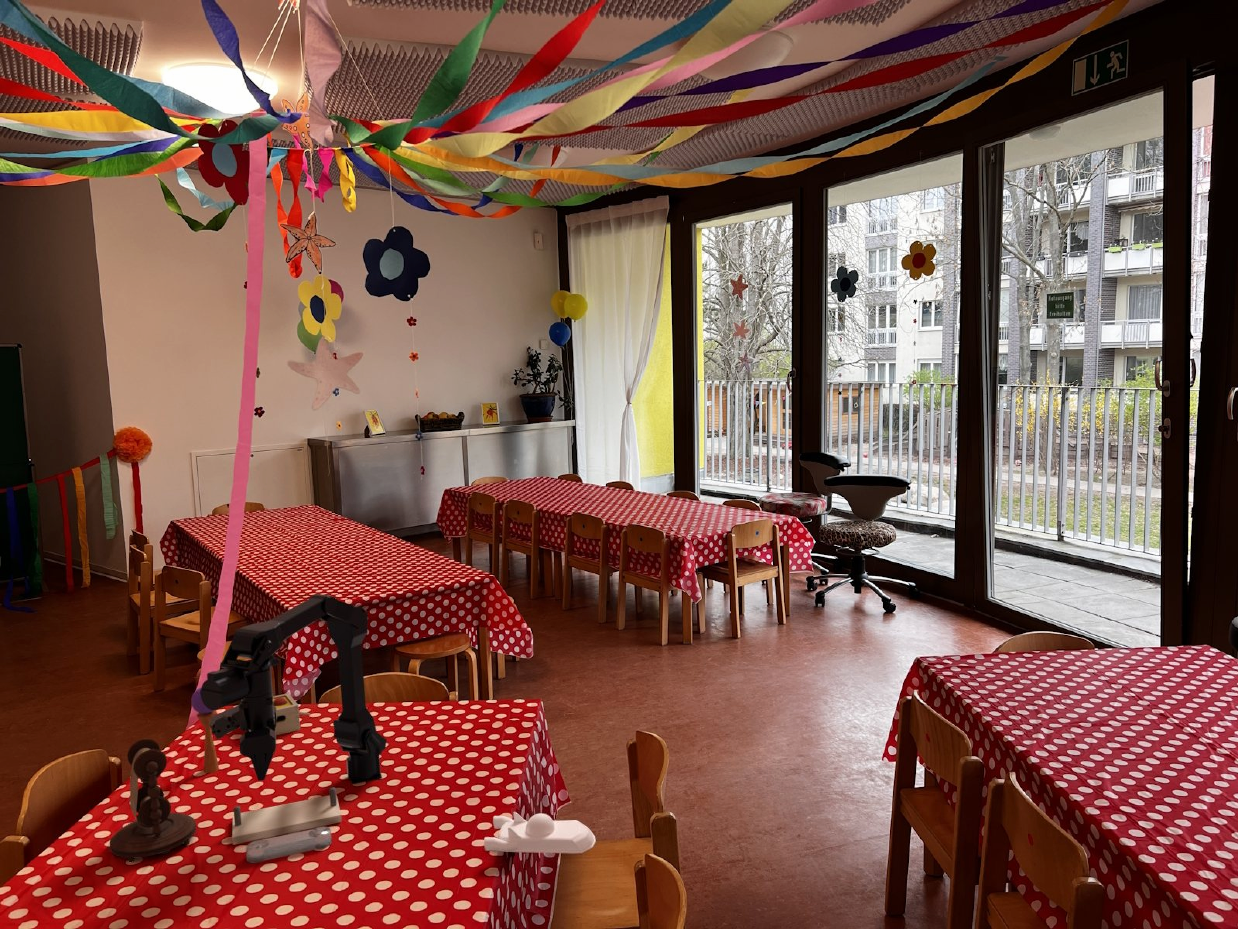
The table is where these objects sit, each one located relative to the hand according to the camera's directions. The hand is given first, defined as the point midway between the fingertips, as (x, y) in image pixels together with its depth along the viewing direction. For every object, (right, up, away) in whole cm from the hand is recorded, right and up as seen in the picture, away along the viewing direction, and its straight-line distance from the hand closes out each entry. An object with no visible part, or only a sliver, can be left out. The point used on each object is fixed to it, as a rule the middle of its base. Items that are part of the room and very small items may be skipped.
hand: (261, 770), depth 174 cm
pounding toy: (-19, -8, +58) cm, 62 cm away
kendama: (-24, -11, +31) cm, 40 cm away
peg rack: (+3, -12, +6) cm, 14 cm away
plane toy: (+55, -12, -6) cm, 57 cm away
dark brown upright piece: (-20, -14, -1) cm, 25 cm away
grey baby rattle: (+7, -13, -5) cm, 16 cm away
